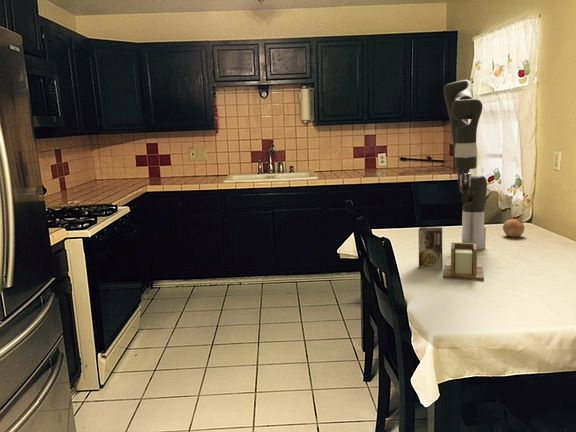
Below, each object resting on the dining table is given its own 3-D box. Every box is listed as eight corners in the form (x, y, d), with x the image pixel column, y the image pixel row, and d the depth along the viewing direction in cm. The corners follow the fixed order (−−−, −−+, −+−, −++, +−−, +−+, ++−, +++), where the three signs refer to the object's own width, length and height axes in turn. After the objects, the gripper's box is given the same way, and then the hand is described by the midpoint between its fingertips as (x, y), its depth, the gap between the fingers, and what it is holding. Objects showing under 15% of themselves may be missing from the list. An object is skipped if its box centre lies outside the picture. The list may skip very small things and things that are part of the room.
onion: (519, 241, 236) (529, 223, 234) (517, 240, 228) (527, 222, 226) (500, 233, 240) (510, 215, 239) (497, 232, 233) (507, 213, 231)
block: (455, 268, 185) (455, 248, 184) (471, 269, 183) (472, 249, 182) (454, 273, 180) (455, 252, 178) (471, 274, 178) (472, 253, 176)
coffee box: (442, 265, 193) (443, 227, 190) (442, 270, 187) (442, 230, 184) (419, 264, 196) (419, 226, 193) (418, 269, 190) (418, 229, 187)
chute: (444, 267, 190) (444, 240, 188) (482, 269, 186) (483, 242, 184) (443, 278, 178) (443, 249, 176) (484, 280, 173) (484, 251, 171)
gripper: (454, 154, 181) (454, 199, 184) (454, 157, 168) (454, 205, 172) (476, 153, 178) (475, 199, 181) (477, 156, 166) (476, 205, 169)
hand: (465, 202), depth 176 cm, fingers closed
